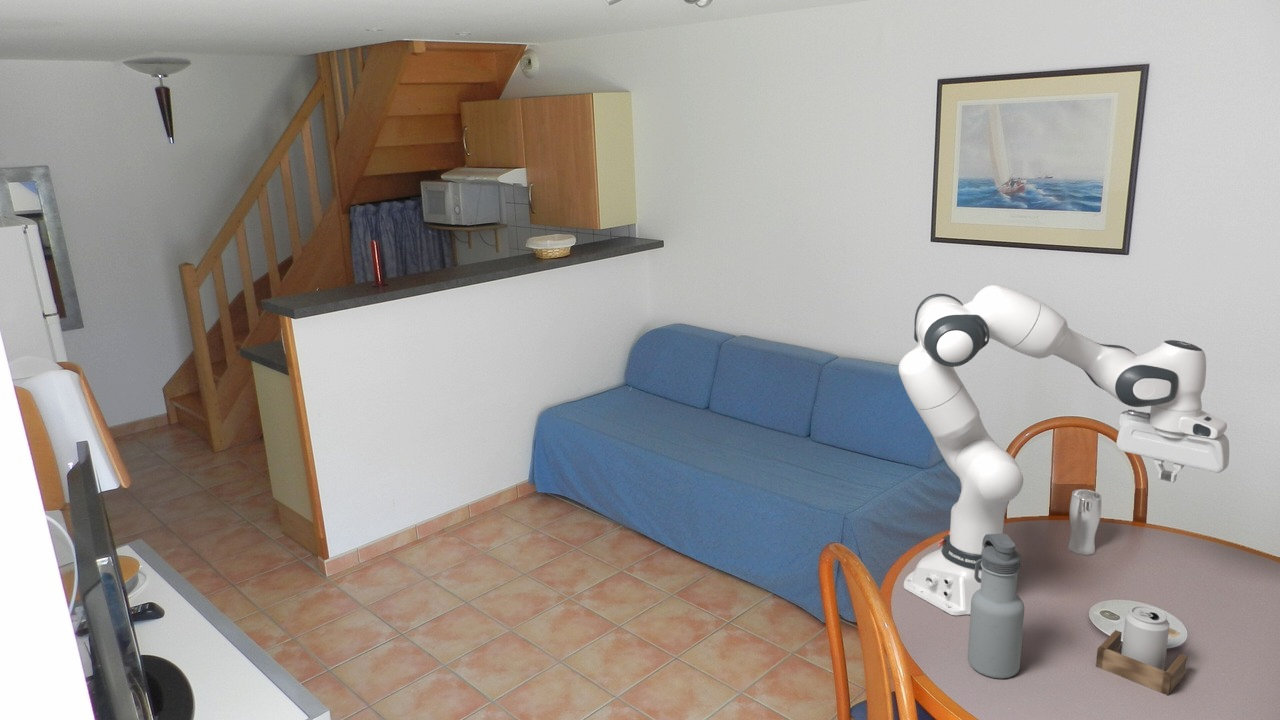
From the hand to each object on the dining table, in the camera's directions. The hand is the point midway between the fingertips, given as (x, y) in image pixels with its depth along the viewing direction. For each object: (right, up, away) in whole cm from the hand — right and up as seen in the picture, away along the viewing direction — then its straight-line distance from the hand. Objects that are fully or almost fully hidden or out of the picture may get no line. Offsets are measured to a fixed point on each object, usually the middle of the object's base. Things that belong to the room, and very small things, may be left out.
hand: (1166, 480), depth 180 cm
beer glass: (0, -23, +36) cm, 42 cm away
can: (-11, -36, -10) cm, 39 cm away
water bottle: (-40, -37, -7) cm, 54 cm away
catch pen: (-12, -36, -11) cm, 39 cm away
